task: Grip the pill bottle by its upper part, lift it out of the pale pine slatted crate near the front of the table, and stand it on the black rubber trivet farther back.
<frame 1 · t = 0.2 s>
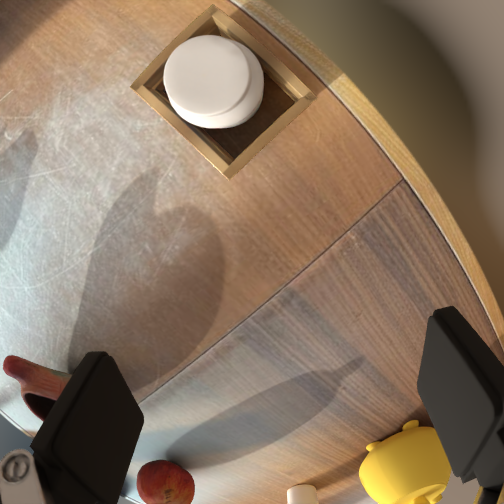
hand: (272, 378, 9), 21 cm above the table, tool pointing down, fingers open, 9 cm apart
fruit: (170, 464, 46), on the table
bowl: (70, 380, 39), on the table
teapot: (404, 445, 43), on the table
cup: (303, 489, 48), on the table
crate: (227, 94, 25), on the table
pill bottle: (227, 94, 25), resting in crate
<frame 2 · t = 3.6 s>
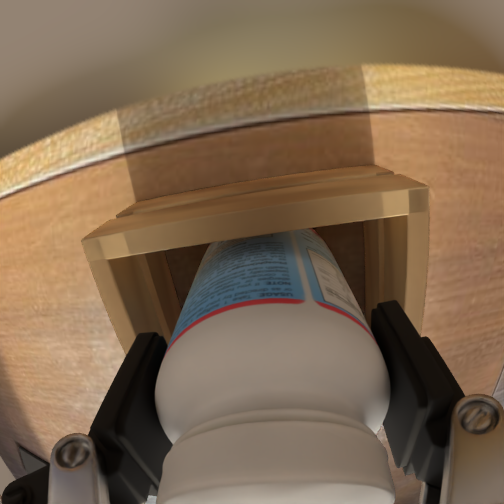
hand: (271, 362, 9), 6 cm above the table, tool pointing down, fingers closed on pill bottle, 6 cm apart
crate: (268, 275, 15), on the table
pill bottle: (268, 273, 15), resting in crate, touching gripper
trivet: (57, 480, 27), on the table
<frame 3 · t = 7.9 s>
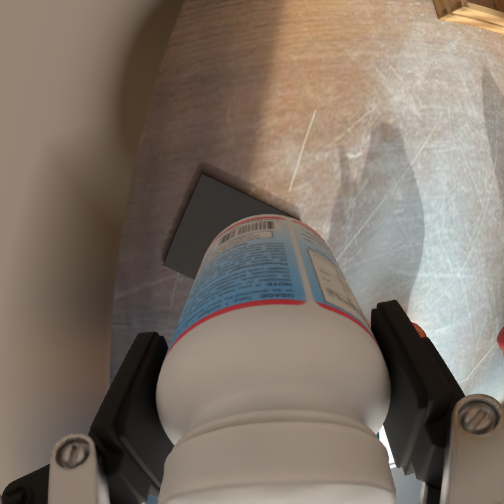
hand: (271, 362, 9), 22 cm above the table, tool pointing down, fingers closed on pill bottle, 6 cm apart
pill bottle: (269, 273, 15), point 15 cm above the table, touching gripper
trivet: (229, 243, 31), on the table
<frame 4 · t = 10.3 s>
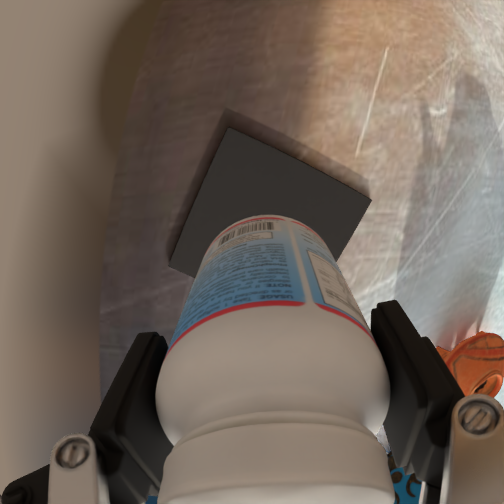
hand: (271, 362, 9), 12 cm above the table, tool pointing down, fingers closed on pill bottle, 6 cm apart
pot: (456, 350, 25), on the table
ornament: (394, 449, 30), on the table
pill bottle: (268, 274, 15), point 6 cm above the table, touching gripper
trivet: (267, 232, 21), on the table
when the fingers open (6 cm above the table, at t = 12.2 s): pill bottle stays where it is, resting on trivet.
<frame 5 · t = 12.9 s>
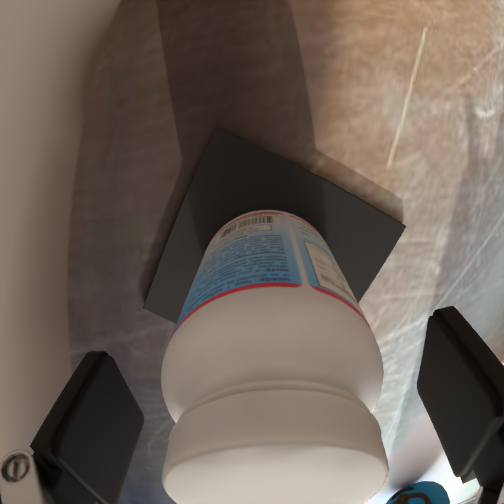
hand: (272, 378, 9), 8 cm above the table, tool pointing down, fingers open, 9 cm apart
ornament: (405, 485, 25), on the table
pill bottle: (268, 267, 16), resting on trivet
trivet: (269, 268, 16), on the table
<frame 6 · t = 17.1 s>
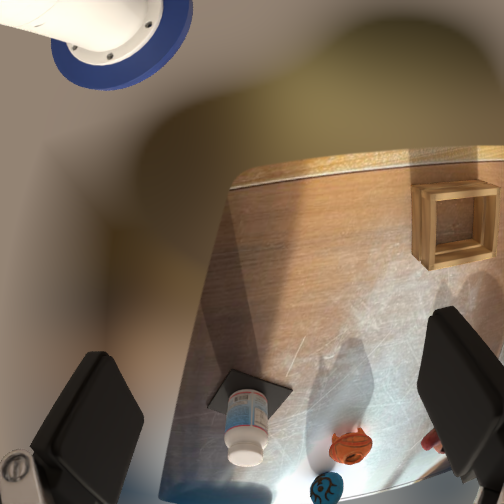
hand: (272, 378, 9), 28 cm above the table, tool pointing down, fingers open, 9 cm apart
bowl: (446, 415, 50), on the table
pot: (347, 433, 50), on the table
ornament: (324, 473, 56), on the table
crate: (447, 216, 35), on the table
pill bottle: (248, 399, 47), resting on trivet
trivet: (248, 399, 47), on the table
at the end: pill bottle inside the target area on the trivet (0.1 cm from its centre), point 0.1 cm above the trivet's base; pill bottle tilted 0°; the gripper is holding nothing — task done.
